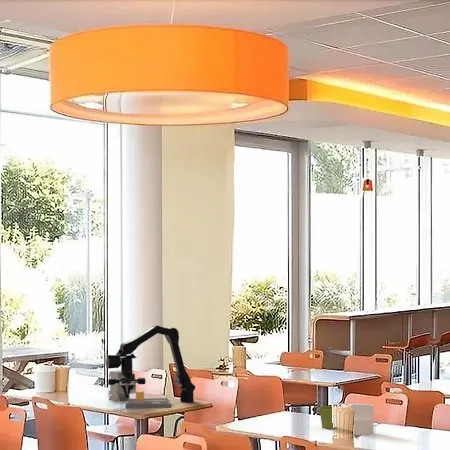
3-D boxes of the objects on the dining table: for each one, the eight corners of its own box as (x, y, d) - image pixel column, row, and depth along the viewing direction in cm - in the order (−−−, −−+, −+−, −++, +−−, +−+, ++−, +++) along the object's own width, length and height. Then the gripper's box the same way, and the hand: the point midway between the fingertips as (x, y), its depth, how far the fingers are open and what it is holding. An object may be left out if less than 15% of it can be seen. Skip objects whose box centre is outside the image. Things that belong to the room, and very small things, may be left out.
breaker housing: (170, 403, 489) (170, 397, 489) (169, 407, 475) (169, 401, 475) (127, 404, 488) (127, 397, 488) (125, 408, 474) (125, 401, 474)
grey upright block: (349, 434, 394) (349, 405, 395) (354, 430, 403) (354, 402, 403) (371, 435, 391) (370, 406, 392) (375, 431, 399) (375, 403, 400)
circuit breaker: (128, 401, 498) (128, 372, 498) (108, 399, 506) (108, 371, 507) (138, 399, 504) (138, 371, 504) (118, 397, 512) (118, 370, 513)
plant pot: (325, 430, 404) (324, 410, 404) (314, 427, 413) (314, 407, 413) (344, 428, 408) (343, 408, 408) (333, 425, 416) (332, 405, 417)
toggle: (144, 400, 484) (144, 390, 484) (143, 402, 479) (143, 392, 479) (136, 400, 484) (136, 390, 484) (135, 402, 479) (135, 392, 479)
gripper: (107, 369, 474) (107, 401, 473) (144, 368, 474) (144, 400, 474) (108, 367, 485) (109, 397, 484) (145, 366, 486) (145, 397, 485)
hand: (127, 398), depth 481 cm, fingers closed
